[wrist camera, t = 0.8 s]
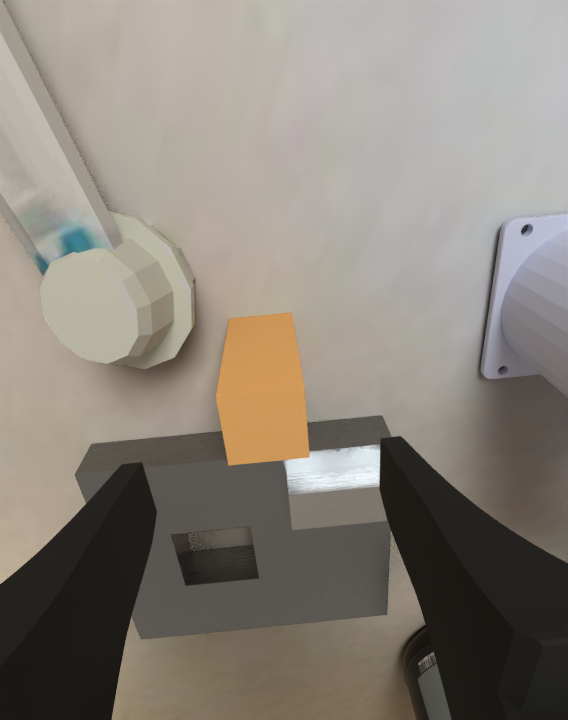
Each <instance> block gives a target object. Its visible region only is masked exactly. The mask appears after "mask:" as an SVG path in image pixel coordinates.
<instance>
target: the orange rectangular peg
mask: <svg viewBox="0 0 568 720" xmlns="http://www.w3.org/2000/svg"><path fill="white" fill-rule="evenodd" d="M216 401H217V406H218V412H219V417H220V422H221V428H222V433H223V439H224V444H225V449H226V455H227V460H228V465H239V464H249V463H260V462H270V461H280V460H290V459H301V458H310V456H309V442H308V428H307V414H306V401H305V388H304V382H303V376H302V370H301V365H300V359H299V353H298V347H297V341H296V336H295V330H294V324H293V318H292V313H283V314H272V315H262V316H252V317H241V318H231V319H229V323H228V329H227V334H226V340H225V346H224V352H223V358H222V363H221V369H220V375H219V381H218V387H217V392H216Z"/></svg>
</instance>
